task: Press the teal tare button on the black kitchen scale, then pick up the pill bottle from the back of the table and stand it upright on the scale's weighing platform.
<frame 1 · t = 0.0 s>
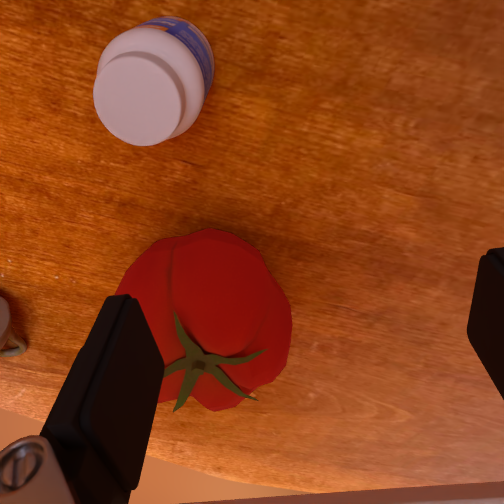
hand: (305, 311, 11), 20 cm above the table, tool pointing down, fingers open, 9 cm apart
tomato: (211, 272, 36), on the table
pill bottle: (174, 63, 26), on the table
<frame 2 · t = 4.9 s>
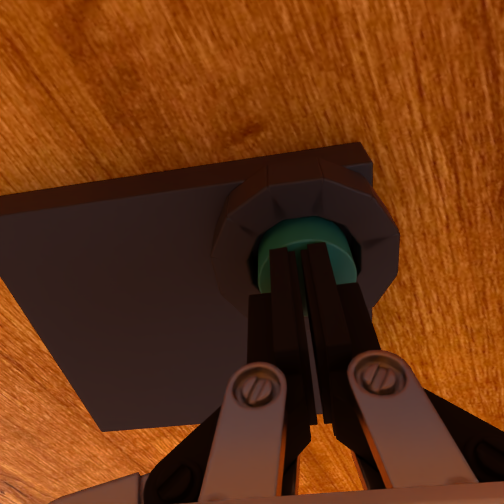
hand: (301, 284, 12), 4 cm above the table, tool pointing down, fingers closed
tare button: (304, 266, 13), point 4 cm above the table, slide at -0.3 cm, touching gripper
scale: (207, 301, 18), on the table
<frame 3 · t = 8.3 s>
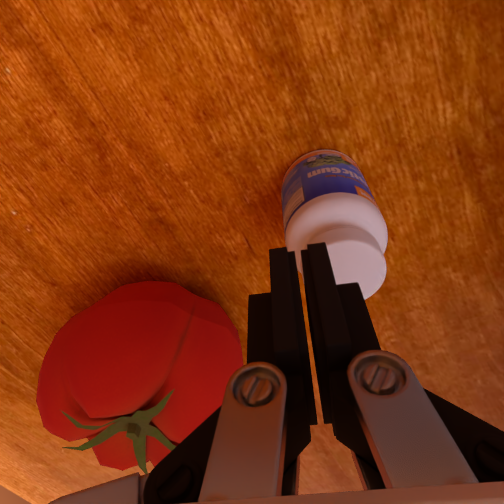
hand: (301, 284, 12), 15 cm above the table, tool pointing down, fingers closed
tomato: (165, 316, 34), on the table
pill bottle: (320, 184, 27), on the table
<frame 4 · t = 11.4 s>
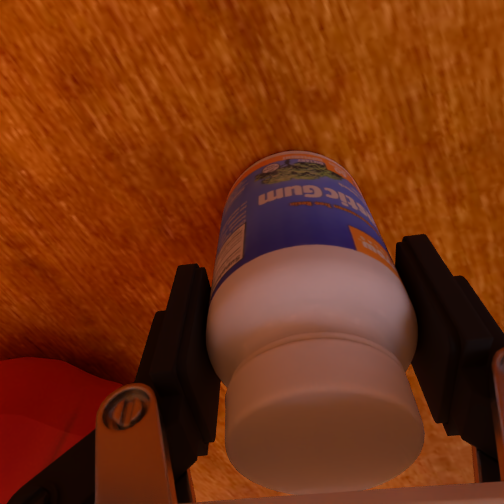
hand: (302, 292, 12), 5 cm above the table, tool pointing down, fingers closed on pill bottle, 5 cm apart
tomato: (66, 396, 23), on the table
pill bottle: (290, 210, 16), on the table, touching gripper
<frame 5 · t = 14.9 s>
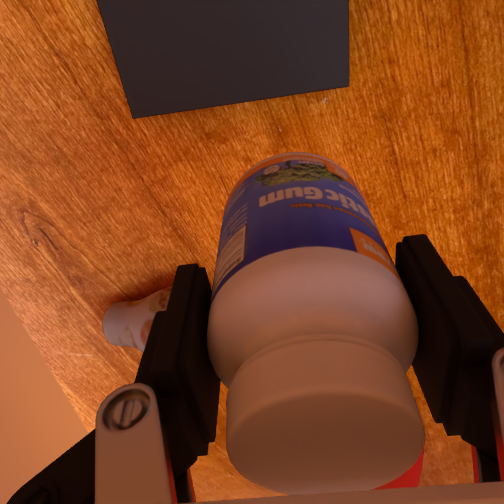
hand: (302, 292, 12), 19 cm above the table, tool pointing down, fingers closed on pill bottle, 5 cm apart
white floral vase: (164, 304, 38), on the table
tomato: (340, 395, 45), on the table
pill bottle: (291, 211, 16), point 14 cm above the table, touching gripper
when the fingers open (7 cm above the table, at t = 18.8 s): pill bottle stays where it is, resting on scale.
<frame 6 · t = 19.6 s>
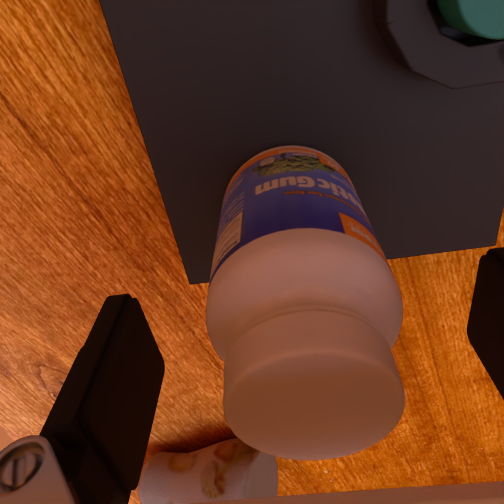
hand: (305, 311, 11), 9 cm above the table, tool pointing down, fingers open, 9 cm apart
white floral vase: (211, 449, 31), on the table
scale: (322, 112, 17), on the table
pill bottle: (286, 202, 17), point 2 cm above the table, touching scale
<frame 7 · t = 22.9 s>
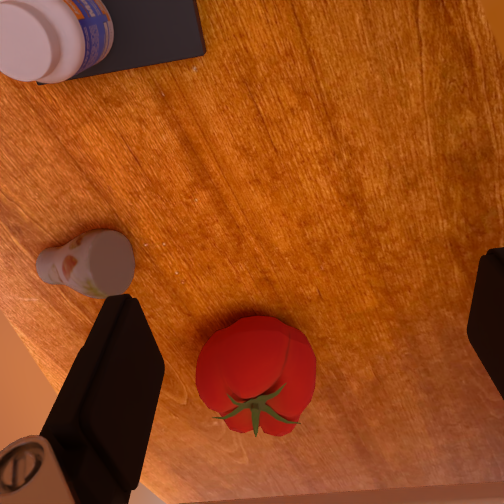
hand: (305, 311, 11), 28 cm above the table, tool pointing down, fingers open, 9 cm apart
white floral vase: (92, 250, 45), on the table
tomato: (257, 336, 52), on the table
pill bottle: (79, 25, 31), point 2 cm above the table, touching scale
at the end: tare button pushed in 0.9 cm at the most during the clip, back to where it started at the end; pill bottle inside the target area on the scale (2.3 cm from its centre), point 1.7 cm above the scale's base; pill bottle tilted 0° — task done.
